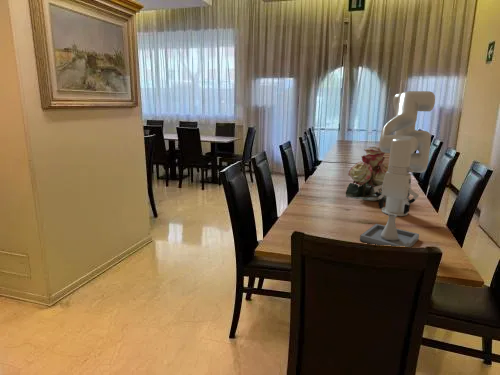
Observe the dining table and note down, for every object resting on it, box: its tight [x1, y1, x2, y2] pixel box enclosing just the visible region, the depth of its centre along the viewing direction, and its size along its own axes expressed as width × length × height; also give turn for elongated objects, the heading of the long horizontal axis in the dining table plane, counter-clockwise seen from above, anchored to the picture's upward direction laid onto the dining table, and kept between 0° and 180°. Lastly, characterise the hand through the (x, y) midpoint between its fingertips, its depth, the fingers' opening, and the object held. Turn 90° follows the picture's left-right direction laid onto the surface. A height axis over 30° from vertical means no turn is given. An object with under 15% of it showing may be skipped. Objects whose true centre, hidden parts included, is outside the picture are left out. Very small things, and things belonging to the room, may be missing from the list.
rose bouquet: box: [345, 146, 389, 202], centre depth 201 cm, size 26×29×30 cm
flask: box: [381, 214, 399, 241], centre depth 138 cm, size 7×7×10 cm
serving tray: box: [359, 223, 420, 248], centre depth 139 cm, size 18×18×2 cm
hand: (393, 210), depth 137 cm, fingers open, 9 cm apart
